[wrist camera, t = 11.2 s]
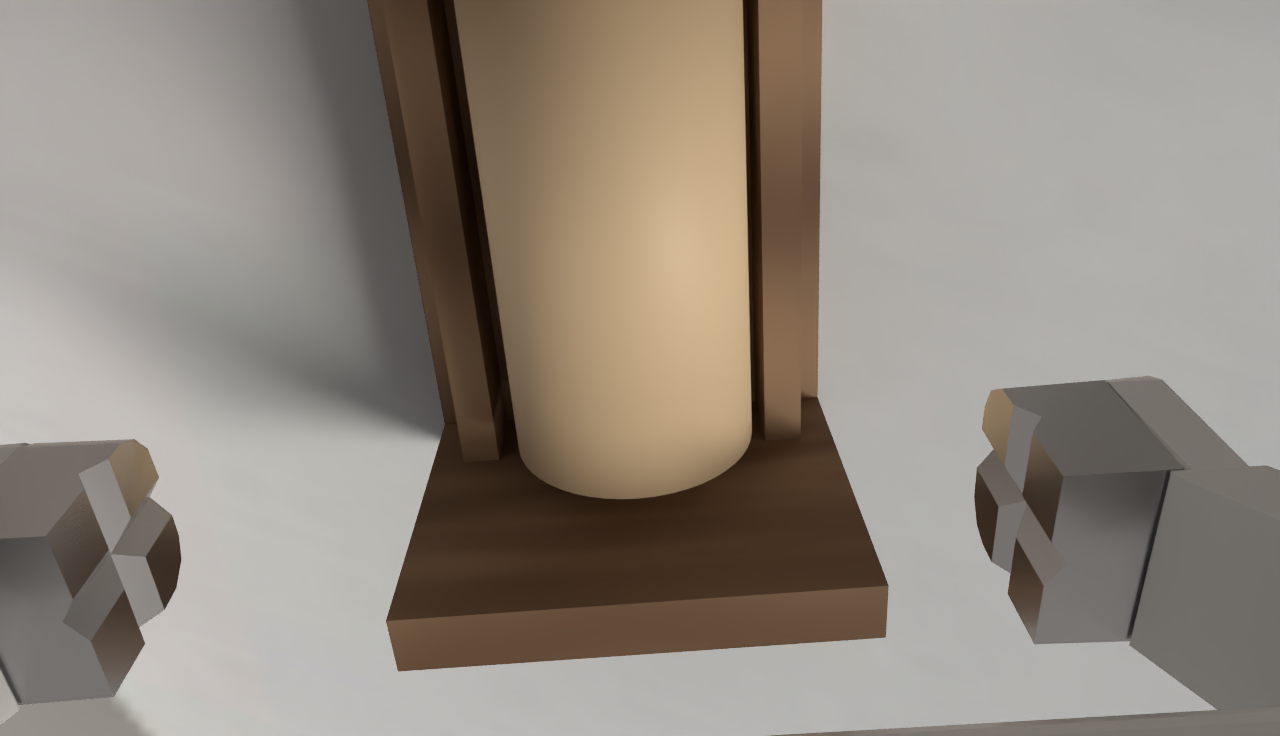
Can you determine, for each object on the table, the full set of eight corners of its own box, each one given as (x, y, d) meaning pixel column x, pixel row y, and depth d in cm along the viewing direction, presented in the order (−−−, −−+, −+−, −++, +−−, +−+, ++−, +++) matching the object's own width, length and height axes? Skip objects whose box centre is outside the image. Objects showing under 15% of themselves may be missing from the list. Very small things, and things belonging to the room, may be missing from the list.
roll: (464, -74, 19) (420, -55, 15) (724, -95, 19) (759, -82, 15) (527, 388, 24) (509, 509, 19) (737, 372, 24) (768, 491, 19)
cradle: (347, -176, 19) (191, -197, 12) (815, -213, 19) (933, -256, 12) (458, 445, 26) (397, 671, 18) (809, 419, 25) (885, 637, 18)
